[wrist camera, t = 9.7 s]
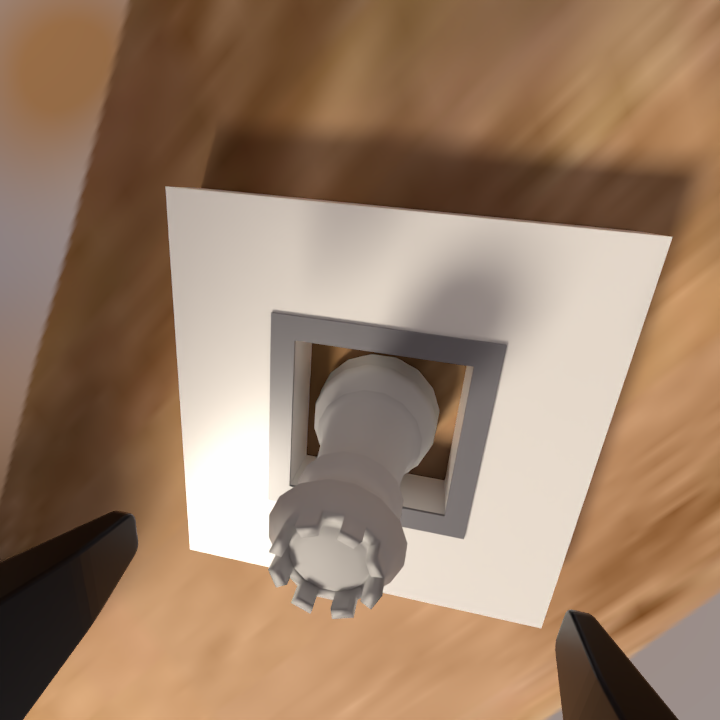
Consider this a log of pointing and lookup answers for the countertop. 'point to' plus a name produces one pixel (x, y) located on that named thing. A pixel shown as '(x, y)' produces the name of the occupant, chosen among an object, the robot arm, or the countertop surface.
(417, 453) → the rook chess piece
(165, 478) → the countertop surface
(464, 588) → the socket block
